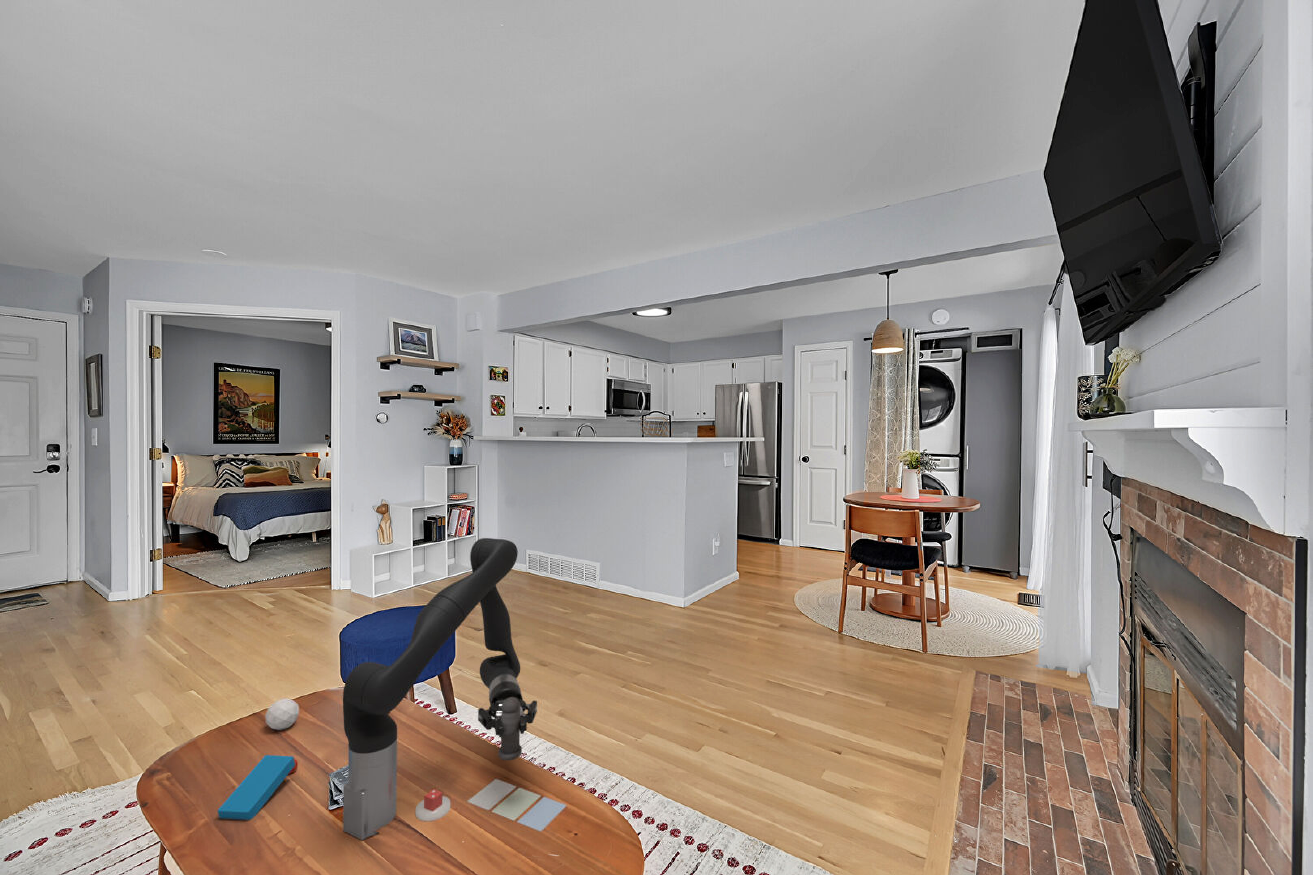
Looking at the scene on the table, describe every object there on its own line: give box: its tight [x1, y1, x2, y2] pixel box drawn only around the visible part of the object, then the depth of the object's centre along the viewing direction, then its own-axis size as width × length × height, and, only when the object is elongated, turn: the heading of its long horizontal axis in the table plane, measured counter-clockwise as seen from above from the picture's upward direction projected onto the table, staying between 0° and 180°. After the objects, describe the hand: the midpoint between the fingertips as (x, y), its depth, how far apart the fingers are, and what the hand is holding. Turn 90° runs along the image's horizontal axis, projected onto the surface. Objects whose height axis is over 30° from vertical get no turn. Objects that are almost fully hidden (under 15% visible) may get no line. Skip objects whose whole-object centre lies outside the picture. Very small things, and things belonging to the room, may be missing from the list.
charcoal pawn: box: [498, 697, 523, 761], centre depth 127 cm, size 5×5×12 cm
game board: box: [466, 778, 567, 832], centre depth 126 cm, size 11×21×1 cm, turn 64°
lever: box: [217, 754, 299, 821], centre depth 130 cm, size 7×7×18 cm
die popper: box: [415, 789, 451, 822], centre depth 123 cm, size 7×7×5 cm
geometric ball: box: [264, 698, 300, 731], centre depth 157 cm, size 8×8×8 cm
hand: (511, 731), depth 124 cm, fingers closed on charcoal pawn, 4 cm apart
